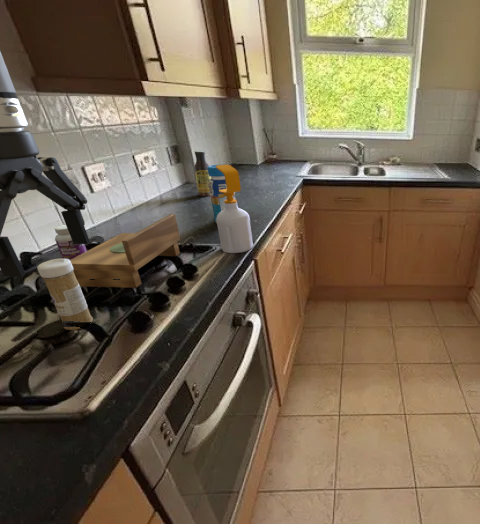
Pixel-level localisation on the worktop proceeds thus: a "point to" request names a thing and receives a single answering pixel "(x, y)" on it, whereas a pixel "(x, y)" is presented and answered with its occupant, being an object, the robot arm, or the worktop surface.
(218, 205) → the blue canister
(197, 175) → the sauce bottle
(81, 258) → the shelf
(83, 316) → the sprinkles bottle
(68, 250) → the pill bottle
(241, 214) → the soap bottle
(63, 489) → the worktop surface
